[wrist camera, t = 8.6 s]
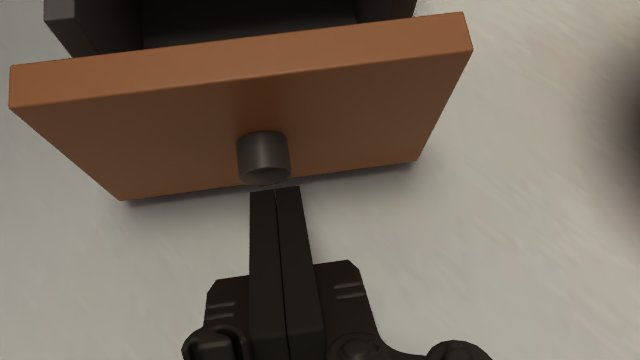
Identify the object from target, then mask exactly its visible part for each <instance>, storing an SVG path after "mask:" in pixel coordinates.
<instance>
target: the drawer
mask: <svg viewBox="0 0 640 360" xmlns="http://www.w3.org/2000/svg"><path fill="white" fill-rule="evenodd" d="M416 2H417V0H44V22H45V23H46V24H47V26H48V27H49V28H50V29H51V31H52V32H53V33H54V35H55V36H56V37H57V38H58V40H59V41H60V42H61V43H62V45H63V46H64V47H65V49H66V50H67V51H68V52H69V54H70V55H71V56H72V57H73V58H69V59H61V60H53V61H44V62H36V63H27V64H19V65H12V66H10V80H9V104H8V106H9V109H10V110H11V111H13V112H14V113H15V114H16V115H17V116H19V117H20V118H21V119H22V120H23V121H24V122H26V123H27V124H28V125H29V126H30V127H32V128H33V129H34V130H35V131H36V132H38V133H39V134H40V135H41V136H42V137H44V138H45V139H46V140H47V141H48V142H50V143H51V144H52V145H53V146H54V147H55V148H57V149H58V150H59V151H60V152H61V153H63V154H64V155H65V156H66V157H67V158H69V159H70V160H71V161H72V162H73V163H75V164H76V165H77V166H78V167H79V168H81V169H82V170H83V171H84V172H85V173H86V174H88V175H89V176H90V177H91V178H92V179H94V180H95V181H96V182H97V183H98V184H100V185H101V186H102V187H103V188H104V189H106V190H107V191H108V192H109V193H110V194H112V195H113V196H114V197H115V198H116V199H117V200H119V201H125V200H132V199H139V198H147V197H154V196H161V195H169V194H176V193H184V192H191V191H198V190H206V189H213V188H220V187H228V186H235V185H242V184H248V185H256V186H261V185H270V184H275V183H279V182H281V181H284V180H286V179H288V178H294V177H301V176H309V175H316V174H324V173H331V172H338V171H346V170H353V169H360V168H368V167H375V166H382V165H390V164H397V163H405V162H412V161H417V160H418V158H419V156H420V154H421V152H422V150H423V148H424V146H425V144H426V142H427V140H428V138H429V136H430V135H431V133H432V131H433V129H434V127H435V125H436V123H437V121H438V119H439V117H440V115H441V113H442V111H443V109H444V107H445V105H446V103H447V101H448V99H449V97H450V95H451V93H452V92H453V90H454V88H455V86H456V84H457V82H458V80H459V78H460V76H461V74H462V72H463V70H464V68H465V66H466V64H467V62H468V60H469V58H470V56H471V54H472V52H473V46H472V42H471V39H470V35H469V31H468V28H467V24H466V20H465V17H464V13H463V12H453V13H445V14H437V15H428V16H420V17H412V16H413V13H414V9H415V6H416Z"/></svg>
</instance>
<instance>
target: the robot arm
mask: <svg viewBox="0 0 640 360" xmlns="http://www.w3.org/2000/svg"><path fill="white" fill-rule="evenodd" d="M275 192H276V198H275ZM276 204H277V205H276ZM181 352H182V355H183V359H184V360H492V359H491V358H490V357H489V356H488V354H487V353H486V352H484V351H483V350H482V349H481V348H479V347H478V346H476V345H474V344H471V343H469V342H466V341H458V340H450V341H444V342H441V343H439V344H437V345H435V346H434V347H432V348H431V350H430V351H429V352H428V354H427V356H423V355H413V354H407V353H402V352H399V351H397V350H394V349H392V348H391V347H389V346H388V345H386V344H385V342H384V341H383V340H382V339H381V338H380V336H379V333H378V331H377V327H376V324H375V321H374V317H373V314H372V311H371V307H370V304H369V301H368V298H367V295H366V291H365V288H364V285H363V281H362V278H361V274H360V271H359V269H358V268H357V267H356V266H355V265H353V264H352V263H351V262H350V261H349V260H342V261H335V262H328V263H321V264H314V265H313V262H312V256H311V251H310V245H309V239H308V233H307V227H306V222H305V216H304V210H303V204H302V199H301V193H300V187H299V186H293V187H286V188H278V189H275V191H274V189H271V190H263V191H256V192H250V255H249V275H246V276H239V277H232V278H225V279H218V280H216V281H215V283H214V284H213V285H212V287H211V288H210V290H209V291H208V293H207V299H206V309H205V316H204V324H203V327H202V328H200V329H198V330H196V331H195V332H193V333H192V334H191V335H190V336H189V337H188V338H187V339H186V340H185V342H184V344H183V346H182V349H181Z"/></svg>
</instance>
